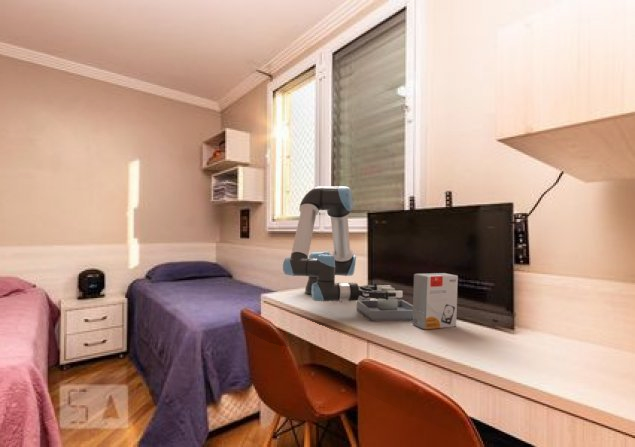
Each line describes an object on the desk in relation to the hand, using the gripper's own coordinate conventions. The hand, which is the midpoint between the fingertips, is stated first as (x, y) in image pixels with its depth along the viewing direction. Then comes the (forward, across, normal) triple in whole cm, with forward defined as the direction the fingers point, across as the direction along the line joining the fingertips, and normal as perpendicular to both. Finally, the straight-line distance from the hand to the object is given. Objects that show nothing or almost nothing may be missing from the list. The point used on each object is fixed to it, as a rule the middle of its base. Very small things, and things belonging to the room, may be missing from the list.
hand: (396, 291), depth 148 cm
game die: (-9, -19, -10) cm, 23 cm away
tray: (-4, 0, -10) cm, 11 cm away
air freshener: (-4, 0, -9) cm, 10 cm away
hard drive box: (+8, +18, -10) cm, 22 cm away
